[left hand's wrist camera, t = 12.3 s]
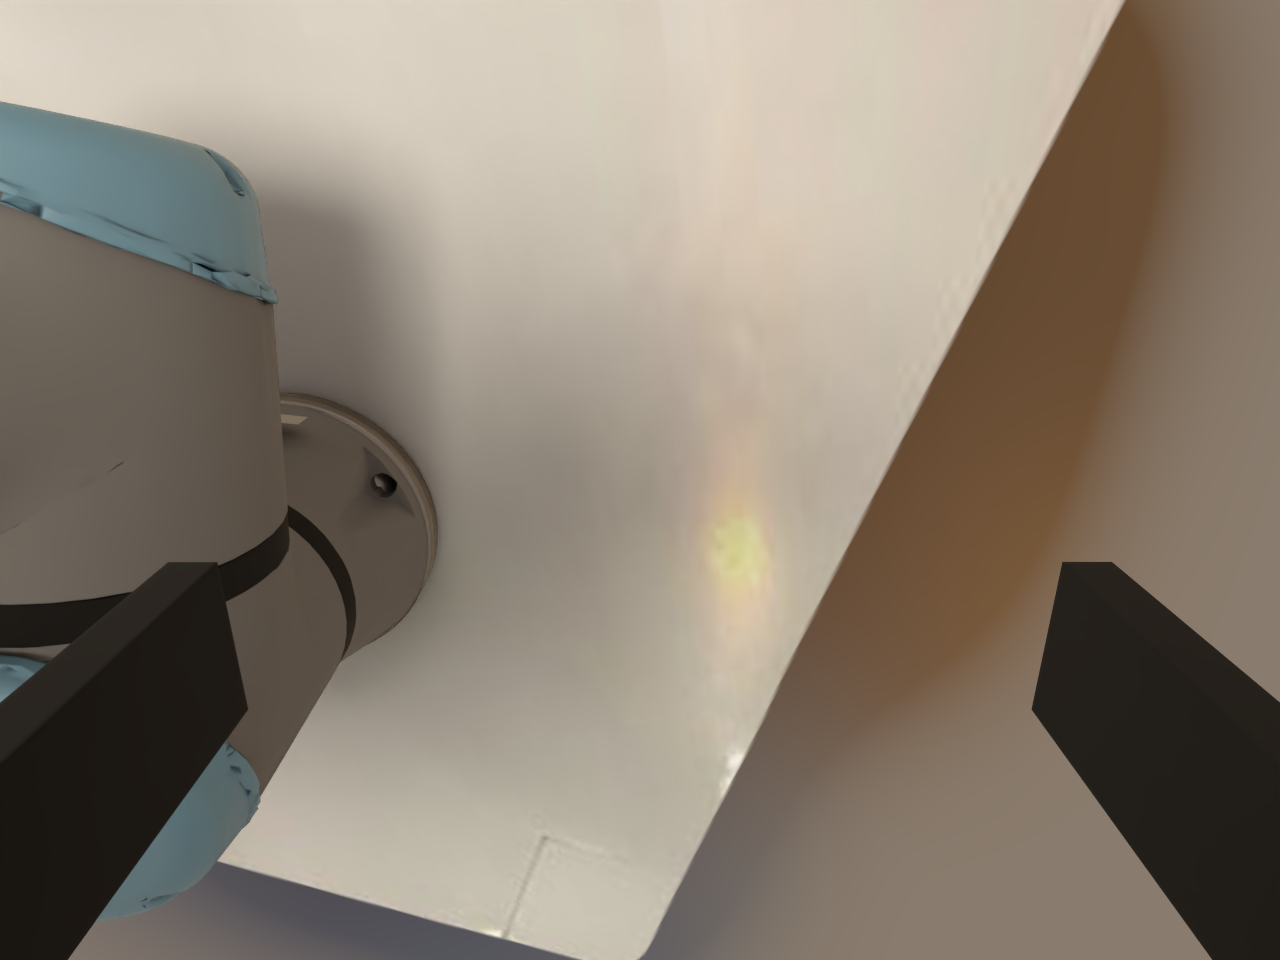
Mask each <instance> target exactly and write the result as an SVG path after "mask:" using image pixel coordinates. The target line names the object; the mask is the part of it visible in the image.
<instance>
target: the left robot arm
mask: <svg viewBox="0 0 1280 960" xmlns="http://www.w3.org/2000/svg"><path fill="white" fill-rule="evenodd" d="M273 304H277V294H276V291H275V289H274V288H273V287H272V286H271V285H270V284H269V278H268V272H267V265H266V257H265V250H264V242H263V235H262V227H261V220H260V212H259V206H258V201H257V198H256V195H255V193H254V191H253V189H252V187H251V185H250V183H249V181H248V180H247V179H246V177H245V176H244V175H243V173H242V172H241V171H240V170H239V169H238V168H237V167H236V166H235V165H234V164H233V163H231V162H230V161H229V160H227V159H226V158H225V157H223V156H222V155H220V154H218V153H216V152H214V151H212V150H210V149H208V148H205V147H203V146H200V145H196V144H193V143H189V142H185V141H182V140H178V139H174V138H170V137H165V136H161V135H157V134H153V133H149V132H144V131H140V130H135V129H131V128H126V127H122V126H117V125H113V124H108V123H103V122H99V121H94V120H89V119H85V118H80V117H75V116H70V115H65V114H61V113H56V112H51V111H46V110H41V109H36V108H31V107H26V106H21V105H16V104H11V103H6V102H1V101H0V960H68V959H69V957H70V956H71V954H72V953H73V952H74V950H75V949H76V947H77V946H78V945H79V943H80V942H81V941H82V939H83V938H84V936H85V935H86V934H87V932H88V931H89V929H90V928H91V927H92V925H93V924H94V922H95V921H102V920H110V919H117V918H123V917H127V916H131V915H135V914H139V913H142V912H145V911H148V910H151V909H153V908H156V907H158V906H160V905H163V904H165V903H167V902H169V901H170V900H172V899H174V898H175V897H176V896H177V895H178V894H179V893H181V892H184V891H186V890H187V889H188V888H190V887H192V886H194V885H195V884H196V883H197V882H199V881H200V880H201V879H202V878H203V877H204V876H205V875H206V874H207V873H208V872H209V870H210V869H211V868H212V867H213V865H214V864H215V863H216V861H217V860H218V859H219V858H220V856H221V855H222V854H223V852H224V851H225V850H226V849H227V847H228V846H229V845H230V843H231V842H232V841H233V840H234V838H235V837H236V836H237V834H238V833H239V832H240V831H241V829H242V828H244V827H245V826H246V825H247V824H248V823H249V822H250V820H251V818H252V816H253V815H254V814H255V812H256V811H257V809H258V807H257V806H258V805H259V803H260V796H261V795H262V793H263V791H264V790H265V788H266V786H267V785H268V783H269V781H270V780H271V778H272V776H273V774H274V773H275V771H276V769H277V768H278V766H279V764H280V763H281V761H282V759H283V758H284V756H285V754H286V753H287V751H288V749H289V748H290V746H291V744H292V743H293V741H294V739H295V738H296V736H297V734H298V732H299V731H300V729H301V727H302V726H303V724H304V722H305V721H306V719H307V717H308V716H309V714H310V712H311V711H312V709H313V707H314V706H315V704H316V702H317V701H318V699H319V697H320V695H321V694H322V692H323V690H324V689H325V687H326V685H327V684H328V682H329V680H330V679H331V677H332V675H333V674H334V672H335V670H336V668H337V666H338V665H339V663H340V661H342V660H344V659H345V658H347V657H348V656H350V655H351V654H353V653H355V652H356V651H358V650H359V649H360V648H362V647H363V646H365V645H367V644H369V643H371V642H373V641H375V640H376V639H378V638H380V637H381V636H383V635H384V634H386V633H387V632H388V631H390V630H391V629H392V628H394V627H395V626H396V625H397V624H398V623H399V622H400V621H401V620H402V619H403V618H404V617H405V615H406V614H407V613H408V612H409V611H410V609H411V608H412V606H413V605H414V603H415V602H416V600H417V598H418V596H419V594H420V592H421V590H422V588H423V586H424V584H425V582H426V581H427V579H428V577H429V574H430V571H431V569H432V566H433V562H434V558H435V553H436V546H437V523H436V516H435V511H434V506H433V503H432V500H431V496H430V494H429V491H428V489H427V486H426V484H425V482H424V480H423V478H422V476H421V474H420V472H419V471H418V469H417V468H416V466H415V465H414V463H413V461H412V460H411V459H410V458H409V456H408V455H407V454H406V452H405V451H404V450H403V449H402V448H401V447H400V446H399V445H398V444H397V442H396V441H395V440H394V439H393V438H391V437H390V436H389V435H388V434H387V433H386V432H385V431H383V430H382V429H381V428H380V427H378V426H377V425H376V424H374V423H373V422H371V421H370V420H368V419H367V418H365V417H363V416H362V415H360V414H358V413H356V412H354V411H352V410H350V409H348V408H346V407H344V406H342V405H339V404H336V403H334V402H331V401H328V400H324V399H321V398H318V397H313V396H308V395H302V394H293V393H279V384H278V370H277V356H276V342H275V328H274V314H273ZM1032 711H1033V712H1034V713H1035V715H1036V716H1037V718H1038V719H1039V720H1040V722H1041V723H1042V725H1043V726H1044V727H1045V729H1046V730H1047V731H1048V733H1049V734H1050V736H1051V737H1052V738H1053V740H1054V741H1055V743H1056V744H1057V745H1058V747H1059V748H1060V749H1061V751H1062V752H1063V754H1064V755H1065V756H1066V758H1067V759H1068V761H1069V762H1070V763H1071V765H1072V766H1073V767H1074V769H1075V770H1076V772H1077V773H1078V774H1079V776H1080V777H1081V779H1082V780H1083V781H1084V783H1085V784H1086V785H1087V787H1088V788H1089V790H1090V791H1091V792H1092V794H1093V795H1094V797H1095V798H1096V799H1097V801H1098V802H1099V803H1100V805H1101V806H1102V808H1103V809H1104V810H1105V812H1106V813H1107V815H1108V816H1109V817H1110V819H1111V820H1112V821H1113V823H1114V824H1115V826H1116V827H1117V828H1118V830H1119V831H1120V833H1121V834H1122V835H1123V837H1124V838H1125V839H1126V841H1127V842H1128V844H1129V845H1130V846H1131V848H1132V849H1133V851H1134V852H1135V853H1136V855H1137V856H1138V857H1139V859H1140V860H1141V862H1142V863H1143V864H1144V866H1145V867H1146V869H1147V870H1148V871H1149V873H1150V874H1151V875H1152V877H1153V878H1154V880H1155V881H1156V882H1157V884H1158V885H1159V887H1160V888H1161V889H1162V891H1163V892H1164V893H1165V895H1166V896H1167V898H1168V899H1169V900H1170V902H1171V903H1172V905H1173V906H1174V907H1175V909H1176V910H1177V911H1178V913H1179V914H1180V916H1181V917H1182V918H1183V920H1184V921H1185V923H1186V924H1187V925H1188V927H1189V928H1190V929H1191V931H1192V932H1193V934H1194V935H1195V936H1196V938H1197V939H1198V941H1199V942H1200V943H1201V945H1202V946H1203V947H1204V949H1205V950H1206V952H1207V953H1208V954H1209V956H1210V957H1211V959H1212V960H1280V702H1279V701H1277V700H1276V699H1275V698H1274V697H1272V696H1271V695H1270V694H1269V693H1268V692H1267V691H1265V690H1264V689H1263V688H1262V687H1261V686H1259V685H1258V684H1257V683H1256V682H1255V681H1253V680H1252V679H1251V678H1250V677H1249V676H1247V675H1246V674H1245V673H1244V672H1243V671H1241V670H1240V669H1239V668H1238V667H1237V666H1236V665H1234V664H1233V663H1232V662H1231V661H1230V660H1228V659H1227V658H1226V657H1225V656H1224V655H1222V654H1221V653H1220V652H1219V651H1218V650H1216V649H1215V648H1214V647H1213V646H1212V645H1210V644H1209V643H1208V642H1207V641H1206V640H1204V639H1203V638H1202V637H1201V636H1200V635H1198V634H1197V633H1196V632H1195V631H1194V630H1192V629H1191V628H1190V627H1189V626H1188V625H1186V624H1185V623H1184V622H1183V621H1182V620H1181V619H1179V618H1178V617H1177V616H1176V615H1175V614H1173V613H1172V612H1171V611H1170V610H1169V609H1167V608H1166V607H1165V606H1164V605H1163V604H1161V603H1160V602H1159V601H1158V600H1156V599H1155V598H1154V597H1153V596H1152V595H1151V594H1149V593H1148V592H1147V591H1146V590H1145V589H1143V588H1142V587H1141V586H1140V585H1139V584H1138V583H1136V582H1135V581H1134V580H1133V579H1132V578H1130V577H1129V576H1128V575H1127V574H1126V573H1124V572H1123V571H1122V570H1121V569H1120V568H1118V567H1117V566H1116V565H1115V564H1114V563H1112V562H1063V563H1062V567H1061V572H1060V577H1059V581H1058V586H1057V591H1056V596H1055V600H1054V605H1053V610H1052V615H1051V619H1050V624H1049V629H1048V634H1047V639H1046V643H1045V648H1044V653H1043V658H1042V662H1041V667H1040V672H1039V677H1038V682H1037V686H1036V691H1035V696H1034V701H1033V706H1032Z"/></svg>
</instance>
